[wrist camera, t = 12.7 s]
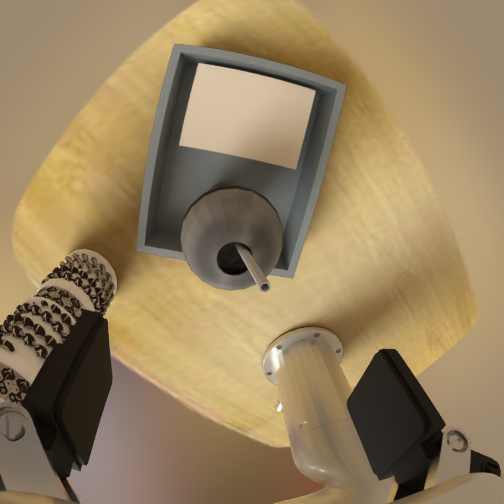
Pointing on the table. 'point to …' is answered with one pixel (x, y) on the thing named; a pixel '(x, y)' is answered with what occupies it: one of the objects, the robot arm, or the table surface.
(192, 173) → the tray
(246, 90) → the beige rectangular block
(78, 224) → the table surface
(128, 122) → the table surface
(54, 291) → the decorative candle
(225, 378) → the table surface
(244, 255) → the beverage cup
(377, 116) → the table surface
